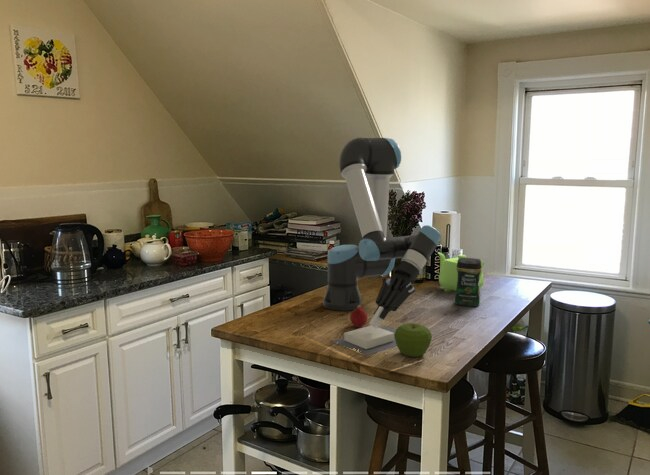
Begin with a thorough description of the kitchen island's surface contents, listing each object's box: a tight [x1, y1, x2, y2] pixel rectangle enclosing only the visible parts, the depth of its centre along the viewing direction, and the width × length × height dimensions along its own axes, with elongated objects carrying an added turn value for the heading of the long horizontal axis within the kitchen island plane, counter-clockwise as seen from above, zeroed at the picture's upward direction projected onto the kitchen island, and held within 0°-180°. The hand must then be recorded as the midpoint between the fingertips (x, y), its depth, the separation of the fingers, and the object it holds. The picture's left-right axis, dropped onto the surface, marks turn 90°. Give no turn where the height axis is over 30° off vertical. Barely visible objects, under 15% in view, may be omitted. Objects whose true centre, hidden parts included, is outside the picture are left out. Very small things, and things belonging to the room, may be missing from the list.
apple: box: [394, 322, 433, 358], centre depth 159 cm, size 11×10×10 cm
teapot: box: [437, 251, 485, 293], centre depth 236 cm, size 25×22×16 cm
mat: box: [331, 325, 398, 357], centre depth 172 cm, size 24×16×1 cm, turn 129°
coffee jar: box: [454, 257, 483, 307], centre depth 213 cm, size 10×8×19 cm
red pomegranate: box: [349, 305, 368, 329], centre depth 184 cm, size 6×6×8 cm
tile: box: [343, 324, 394, 349], centre depth 170 cm, size 3×10×12 cm
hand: (372, 325), depth 170 cm, fingers closed
